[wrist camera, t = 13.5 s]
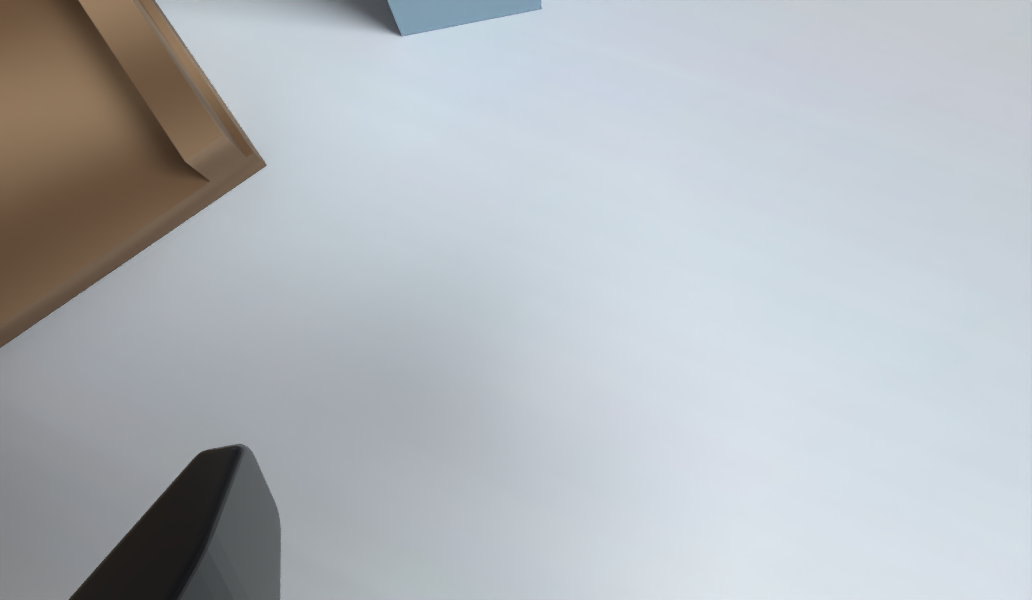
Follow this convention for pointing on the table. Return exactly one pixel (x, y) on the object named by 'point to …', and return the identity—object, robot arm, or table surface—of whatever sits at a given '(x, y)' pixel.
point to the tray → (100, 146)
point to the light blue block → (452, 12)
